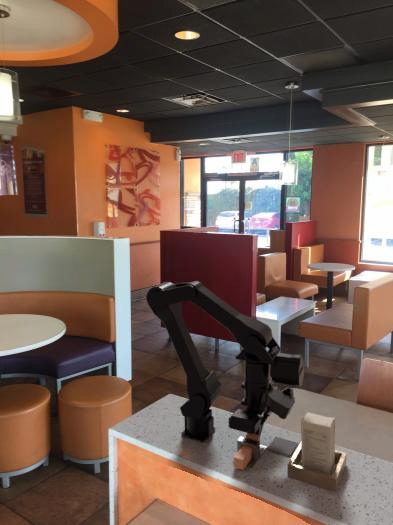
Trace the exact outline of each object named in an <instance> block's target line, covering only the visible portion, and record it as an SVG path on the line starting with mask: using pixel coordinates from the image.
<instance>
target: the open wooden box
mask: <svg viewBox="0 0 393 525" xmlns="http://www.w3.org/2000/svg"><path fill="white" fill-rule="evenodd" d="M347 455H348V452H345V451H341V450H337V449H335V466H336V468H335V470H334V473H333V475H329V474H326V473H322V472H319V471H316V470H312V469H309V468H306V467H302V465H300V463H301V442H300V443H298V445H297V447H296V448H295V450H294V452H293V453H292V455H291V457H290V460H289V462H288V463H287V472H286V473H287V474H286V476H287V478H288V479H291V480H295V481H298V482H300V483H304V484H307V485H310V486H314V487H316V488H319V489H322V490H326V491H329V492H333V493H337V491H338V488H339V485H340V482H341V480H342V477H343V474H344V471H345V469H346V467H347V459H348V458H347Z"/></svg>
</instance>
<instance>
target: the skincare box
mask: <svg viewBox="0 0 393 525" xmlns="http://www.w3.org/2000/svg"><path fill="white" fill-rule="evenodd" d="M300 423H301V428H300V429H301V430H300V432H301V436H300V437H301V440H300V443H301V461H300V463H301V466H302V467H306V468H309V469H312V470H316V471H319V472H322V473H326V474H329V475H332V476H333V475H334V472H335V470H336V468H335V466H336V465H335V450H336V449H335V448H336V445H335V443H336V418H335V417H331V416H327V415H323V414H319V413H314V412H310V411H307V412H306V413H305V414H304V415H303V417H302V418H301V420H300Z"/></svg>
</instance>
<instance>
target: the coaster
mask: <svg viewBox="0 0 393 525" xmlns="http://www.w3.org/2000/svg"><path fill="white" fill-rule="evenodd" d="M298 446H299V443H298V442H296V441H292V440H288V439H286V438H282V437H278V436H275V437H274V438H273V439H272V441H271V442H270V443H269V445H268V446H267V448H266V451H270V452H272V453H275V454H279V455H282V456H287V457H289V458H292V456H293V454H294V453H295V451H296V449H297V448H298Z"/></svg>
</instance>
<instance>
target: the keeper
mask: <svg viewBox="0 0 393 525" xmlns="http://www.w3.org/2000/svg"><path fill="white" fill-rule="evenodd" d="M236 444H237V446H236V447H237V448H236V452H238V451H239V450H240V449H241V447H242V446H243V445H247V446H250V447H253V457H252V459H251V460H250V461H249V463H248V464H247V465H246V467H245V468H250V469H253V468H254V467H255V465H256V464H257V462H258V461H259V459H260V458H261V457H262V455H263V453H264V452H265V451H266V450H267V448H268V446H266V445H263V444H260V450H259V441H255V440H252V439H248V438H246V436H245V437H244V436H239V438H238V439H237V443H236ZM232 462H233V463H234V460H233V461H232Z"/></svg>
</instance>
